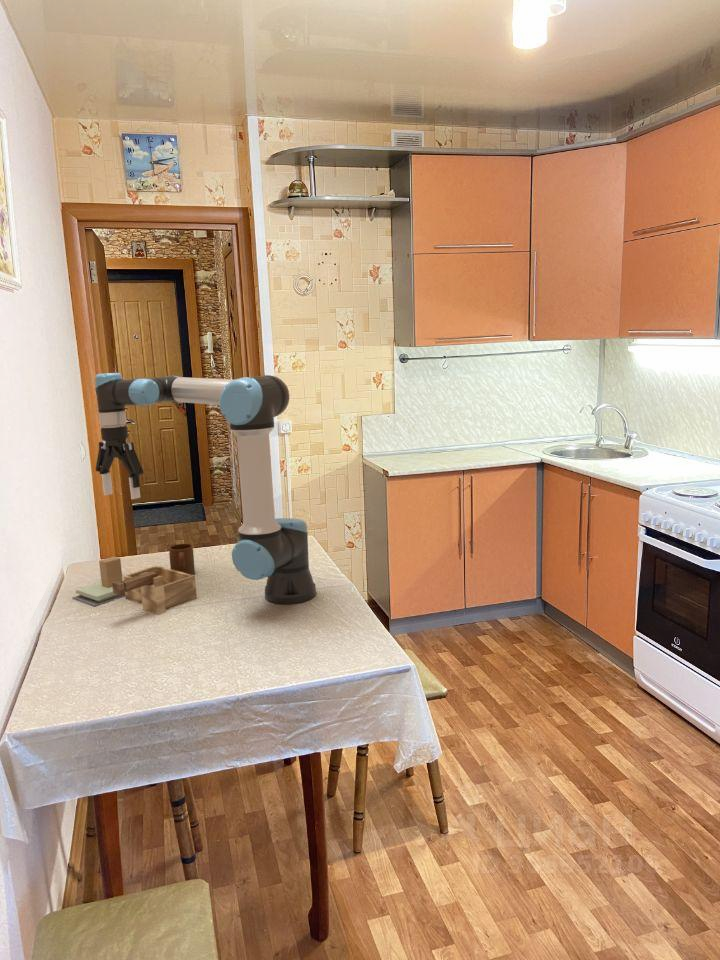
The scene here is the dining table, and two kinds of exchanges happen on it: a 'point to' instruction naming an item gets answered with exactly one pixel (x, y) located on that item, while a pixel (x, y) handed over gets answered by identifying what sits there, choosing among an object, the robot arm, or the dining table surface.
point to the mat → (94, 602)
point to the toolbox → (163, 589)
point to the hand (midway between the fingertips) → (121, 496)
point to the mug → (182, 558)
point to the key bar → (133, 583)
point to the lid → (104, 580)
